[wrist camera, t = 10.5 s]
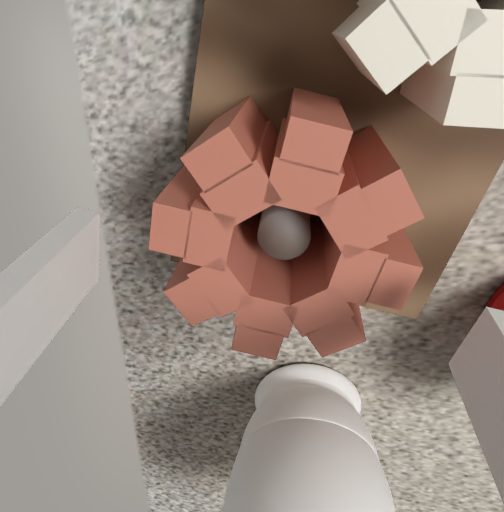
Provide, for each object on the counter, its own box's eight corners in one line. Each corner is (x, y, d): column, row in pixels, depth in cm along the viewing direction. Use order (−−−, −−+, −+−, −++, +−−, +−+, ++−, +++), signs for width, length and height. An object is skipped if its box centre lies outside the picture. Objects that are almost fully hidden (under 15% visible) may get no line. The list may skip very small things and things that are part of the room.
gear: (206, 65, 20) (164, 84, 14) (425, 119, 20) (478, 162, 14) (179, 255, 25) (141, 327, 19) (350, 296, 26) (365, 381, 20)
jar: (220, 369, 32) (164, 604, 19) (346, 334, 29) (382, 586, 16) (275, 452, 36) (259, 688, 23) (390, 428, 33) (446, 687, 20)
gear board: (253, -311, 15) (224, -513, 9) (675, -200, 15) (898, -333, 9) (177, 248, 27) (143, 308, 21) (411, 305, 27) (439, 378, 22)
